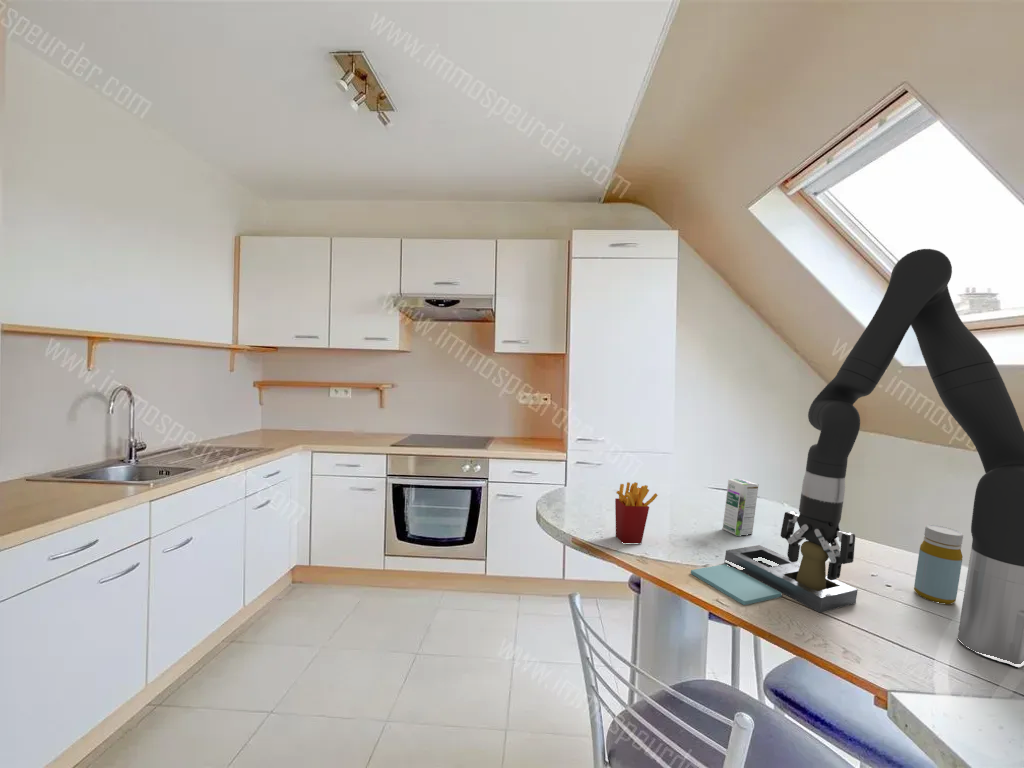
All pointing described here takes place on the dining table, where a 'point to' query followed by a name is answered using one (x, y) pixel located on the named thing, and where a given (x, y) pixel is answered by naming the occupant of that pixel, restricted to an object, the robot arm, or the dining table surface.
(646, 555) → the dining table surface
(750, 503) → the syrup box
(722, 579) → the board
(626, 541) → the french fries
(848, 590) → the two-slot holder tray
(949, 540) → the bottle
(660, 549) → the dining table surface
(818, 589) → the cork
